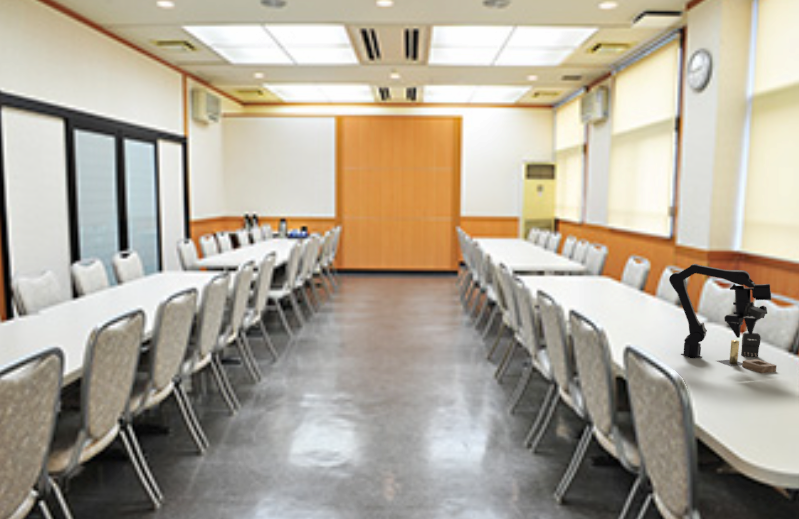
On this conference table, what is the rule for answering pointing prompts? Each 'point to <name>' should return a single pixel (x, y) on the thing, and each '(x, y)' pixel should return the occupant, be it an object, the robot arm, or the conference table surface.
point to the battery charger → (750, 344)
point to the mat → (729, 363)
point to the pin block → (759, 366)
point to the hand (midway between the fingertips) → (744, 335)
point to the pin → (734, 352)
